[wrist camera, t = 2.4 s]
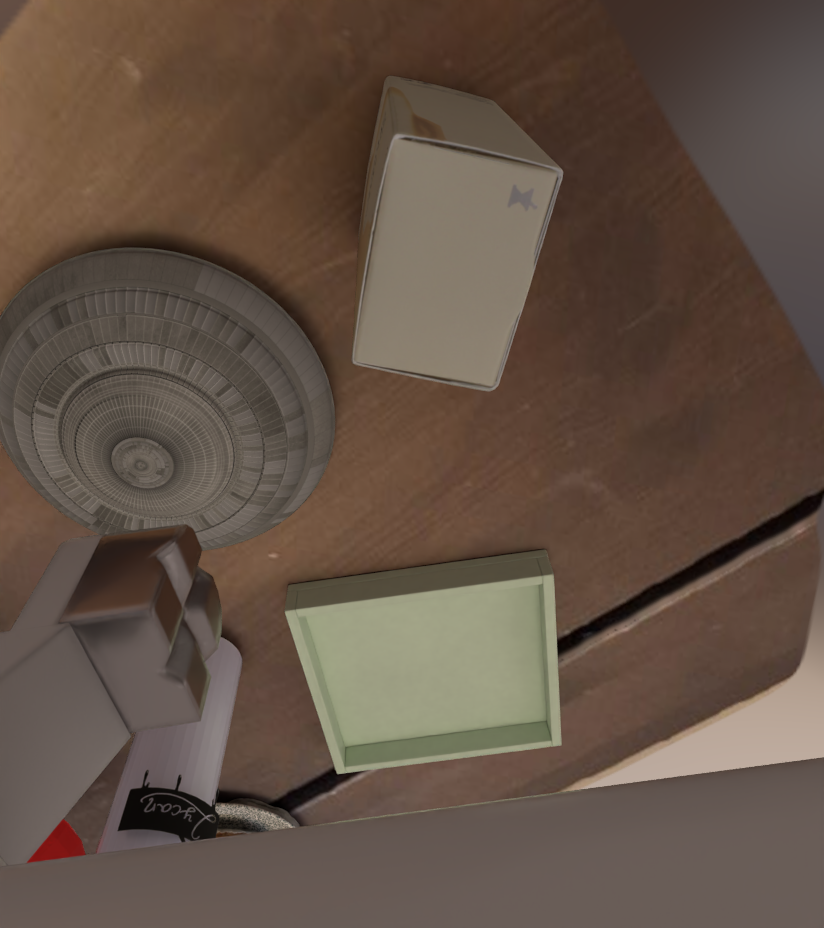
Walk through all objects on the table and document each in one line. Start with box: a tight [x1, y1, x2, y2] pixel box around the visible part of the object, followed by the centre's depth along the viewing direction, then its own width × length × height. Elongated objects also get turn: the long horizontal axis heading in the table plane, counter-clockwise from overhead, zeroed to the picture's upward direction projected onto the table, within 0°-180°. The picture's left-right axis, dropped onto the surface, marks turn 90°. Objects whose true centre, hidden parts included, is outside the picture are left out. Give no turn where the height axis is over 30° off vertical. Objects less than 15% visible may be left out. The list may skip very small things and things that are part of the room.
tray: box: [284, 549, 561, 774], centre depth 42 cm, size 14×14×2 cm
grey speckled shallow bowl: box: [211, 798, 300, 838], centre depth 50 cm, size 12×12×5 cm
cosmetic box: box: [352, 76, 563, 391], centre depth 23 cm, size 6×4×12 cm
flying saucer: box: [0, 248, 335, 551], centre depth 31 cm, size 15×15×6 cm
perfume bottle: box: [96, 637, 242, 854], centre depth 33 cm, size 6×6×20 cm
